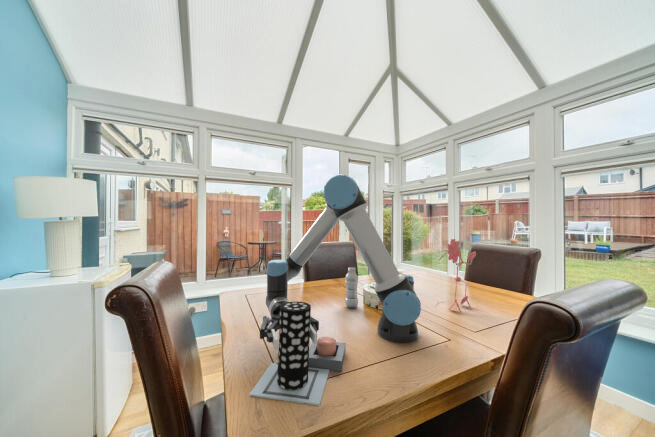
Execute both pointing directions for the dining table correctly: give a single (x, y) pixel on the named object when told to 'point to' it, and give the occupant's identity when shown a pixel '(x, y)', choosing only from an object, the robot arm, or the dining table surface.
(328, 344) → the button
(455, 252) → the figurine
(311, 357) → the button housing
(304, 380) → the white-spotted black cylinder
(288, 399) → the drawing pad
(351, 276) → the plastic bottle
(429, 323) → the dining table surface
